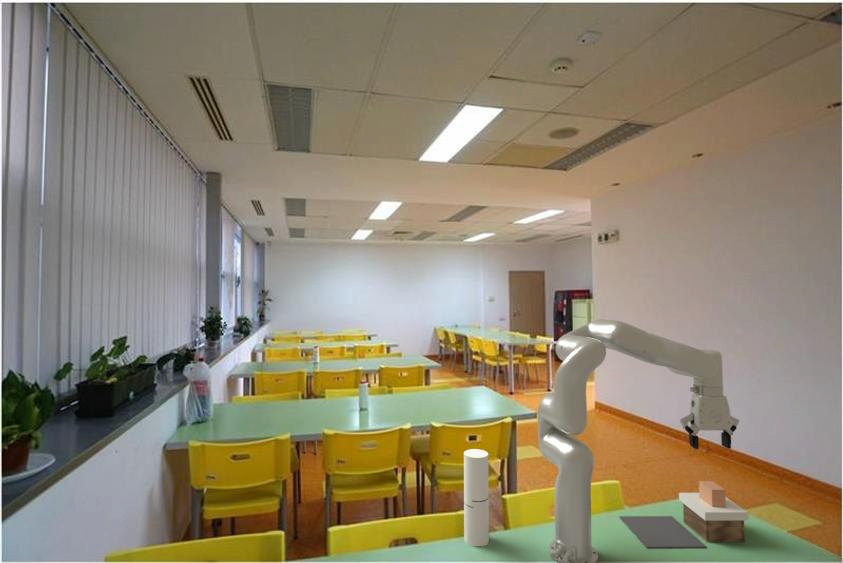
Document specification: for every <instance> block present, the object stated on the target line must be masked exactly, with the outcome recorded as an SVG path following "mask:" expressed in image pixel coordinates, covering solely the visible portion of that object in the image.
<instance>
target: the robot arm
mask: <svg viewBox="0 0 843 563" xmlns="http://www.w3.org/2000/svg"><path fill="white" fill-rule="evenodd" d="M607 349H608V350H612V351H615V352H618V353H620V354H623V355H626V356H629V357H631V358H634V359H636V360H638V361H641V362H644V363H647V364H650V365H655V366H658V367H659V366H660V367H664V368H667V370H669V371H670V372H671V373H674V374H676V375H681V376H683V377H684V376H685V377H691V378H693V386H692V387H690V388H689V391H690V393H691V392H692V394H691V398H690V403H689V414H688V415H686V416H684V417H682V418H681V419H679V422H680V425H681V426H682V428H683V429H684V430H685V431H686V433H687V434H688V442H689V445H690V447H691V448H693V449H695V450H699V449H700V446H699V442H700V441H699V436H698V433H699V432H700V431H709V432H710V431H722V432H720V437H721V438H720V439H721V446H722V447H725V448H726V449H729V450H731V449H732V436H733V435H734V432H736V430H737V427H738V425H739V423H740V419H738V418H736V417H735V416H732V415H731V410H730V406H729V401H728V397H727V396H726V395H724V377H723V372H724V371H723V356H722V354H721V352H720V351H718V350H713V349H699V348H695V347H693V346H691V345H686V344H684V343H681V342H677V341H674V340H672V339H669V338H666V337H662V336H660V335H657V334H654V333H651V332H649V331H646V330H643V329H641V328H638V327H637V326H634V325H631V324H629V323H627V322H623V321H622V320H621V321H620V320H614V319H613V320H612V319H601V318H600V319H596V320H592V321H590V322H588V323H586V324H584V325H582V326H579V327H578V328H575V329H573V330H571V331H568V332H567V333H566V334H563V335H562V336H561V337H560V338H558V340H557V342H556V344H555V349H554V350H555V353H556V355H557V357H558V358H559V359H560V360H561V361H562V363H560V365H559V367H558V368H557V369H556V372H555V375H554V380H553V381H554V382H553V383H554V384H553V386H554V387H553V392H550V393H547V394H545V395H544V396H543V397H542V398H541V400H540V401H539V404H538V407H537V437H538V438H537V439H538V446H539V450H540V453H541V455H542V456H543V457H544V459H545V460H547V461H548V462H550V463H551V464H553V465H554V466H555V467H557V468H558V473H557V476H556V479H555V482H554V534H555V535H554V536H555V537H554V538H555V539H554V540H553V541H551V542H550V544H549V553H550V555H549V556H550V559H551V560H552V561H553V562H555V561H557V562H559V563H598V561H599V555H598V554H599V553H598V551H597V550H596V549H595V548H594V547H593V545H592V543H593V542H592V540H593V538H592V537H593V536H592V477H593V472H594V467H595V457H594V454H593V452H592V450H591V449H590V447H589V446H588V445H587V444H586V443H585V442H583V441H582V440H580V439H578V438H577V437H574V436H577V435H580V434H582V433H584V431H585V430H586V428H587V426H588V425H587V424H588V410H587V409H588V408H587V407H588V406H587V402H588V401H587V386H588V385H587V384H588V380H589V378H590V376H591V375H592V374H593V372H594V371H596V370H597V368H599V367H600V365H602V363H603V362H604V361H605V359H606V355H607ZM688 423H690V426H689V424H688Z"/></svg>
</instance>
